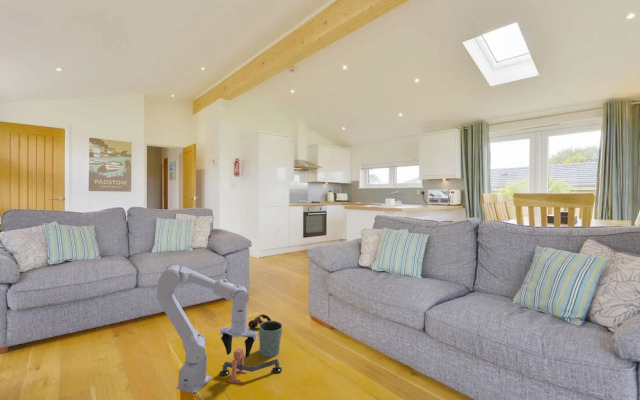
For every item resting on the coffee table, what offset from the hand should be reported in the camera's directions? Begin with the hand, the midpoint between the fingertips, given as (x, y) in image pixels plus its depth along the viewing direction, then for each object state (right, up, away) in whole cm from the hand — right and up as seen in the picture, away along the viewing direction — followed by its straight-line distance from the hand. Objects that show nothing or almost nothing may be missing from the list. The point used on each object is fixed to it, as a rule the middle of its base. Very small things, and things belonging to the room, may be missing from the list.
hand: (238, 354), depth 116 cm
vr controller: (0, -8, +40) cm, 41 cm away
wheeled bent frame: (+4, -8, +3) cm, 10 cm away
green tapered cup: (+9, -8, +18) cm, 22 cm away
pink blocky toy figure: (0, -8, 0) cm, 8 cm away
